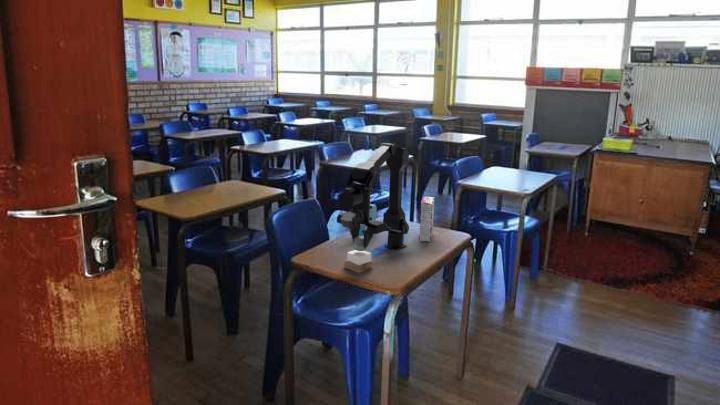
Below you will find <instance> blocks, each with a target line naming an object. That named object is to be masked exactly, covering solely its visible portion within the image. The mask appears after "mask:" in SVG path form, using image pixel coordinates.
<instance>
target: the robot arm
mask: <svg viewBox="0 0 720 405" xmlns="http://www.w3.org/2000/svg"><path fill="white" fill-rule="evenodd" d="M409 158H410V152H409V151H408V150H407V148H405V147H400V146H397V145H396V144H394V143H390V142H382V143H380V145H379V147H378V148H377V149H376V151H375V152H373V153H372V154H371V156H369V158H368V159H367V160H366V161H364V162H360V163H358V164H357V165H355V166H353V168H352V169H351V171H350V173H349V176H348V179H347V182H346V184H345V188H344V189H343V190H344V191H343V192H341V194H340V195H339V197H338V203H339V206H340V207H341V208H343V209H344V210H349V211H347V212H343V213H339V214H338V215H337V217H336V223H337V224H341V225H342V226H341V227H343V228H346V229H347V230H348V231H349V233H350V236H351V239H352V242H353V243H354V238H355V237H356V236H359V231H360V225H362V226H365V227H366V230H363V231H362V232H363V234H364V248H368V247H369V244H370V243H371V241H372V238H373V237H374V235H377V234H378V235H379V234H380V233H384V232H387V243H385V244H384V247H387V248H390V249H394V250H396V251H397V250H398V251H399V250H400V249H403V248H406V247H407V244H405V243H404V241H405V235H407V234H408V233H409V230H410V225H409V223H408V222H407V220H406V213H405V211H404V209H403V208H402V202H403V175H404V170H405V168H406V167H407V165H408V161H409ZM384 164H386V166H387V168H388V169H389V186H388V187H389V189H388V190H389V192H388V207H387V209H386V211H384V212H383V214H382V215H383V216H382V217H383V219H382V221H379V220H376V221H375V222H369V221H370V220H372V217H370V209H372V206H371V205H370V204H371V192H372V189H374V185H373V183H374V181H375V179H376V177H377V172H378V170H379V169H380V168H381V167H382V166H383V165H384Z"/></svg>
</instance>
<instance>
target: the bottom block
mask: <svg viewBox="0 0 720 405" xmlns="http://www.w3.org/2000/svg"><path fill="white" fill-rule="evenodd" d="M343 261H344V263H343V266H344V269H347V270H350V271H353V272H356V273H358V274H360V273H363V272H365V271H368V270H370V269H372V268H373V260H371V261H370V262H367V263H364V264H361V265H357V264H355V263H352V262H350V261H347V259H345V260H343Z"/></svg>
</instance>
